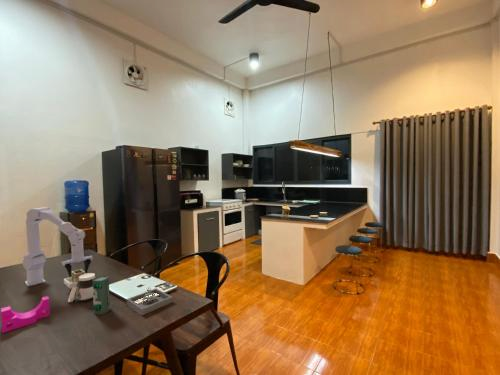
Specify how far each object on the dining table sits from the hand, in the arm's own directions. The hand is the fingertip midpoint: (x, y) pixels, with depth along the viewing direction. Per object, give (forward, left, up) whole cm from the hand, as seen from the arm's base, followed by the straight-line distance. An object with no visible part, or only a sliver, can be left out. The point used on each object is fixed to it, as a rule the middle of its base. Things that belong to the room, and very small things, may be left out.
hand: (78, 274), depth 145 cm
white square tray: (0, 0, -5) cm, 5 cm away
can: (+45, -3, -5) cm, 45 cm away
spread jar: (+25, -5, -5) cm, 26 cm away
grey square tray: (+56, +14, -5) cm, 58 cm away
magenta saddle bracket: (+29, -26, -5) cm, 40 cm away
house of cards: (+56, +13, -5) cm, 58 cm away
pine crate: (0, 0, -4) cm, 4 cm away
